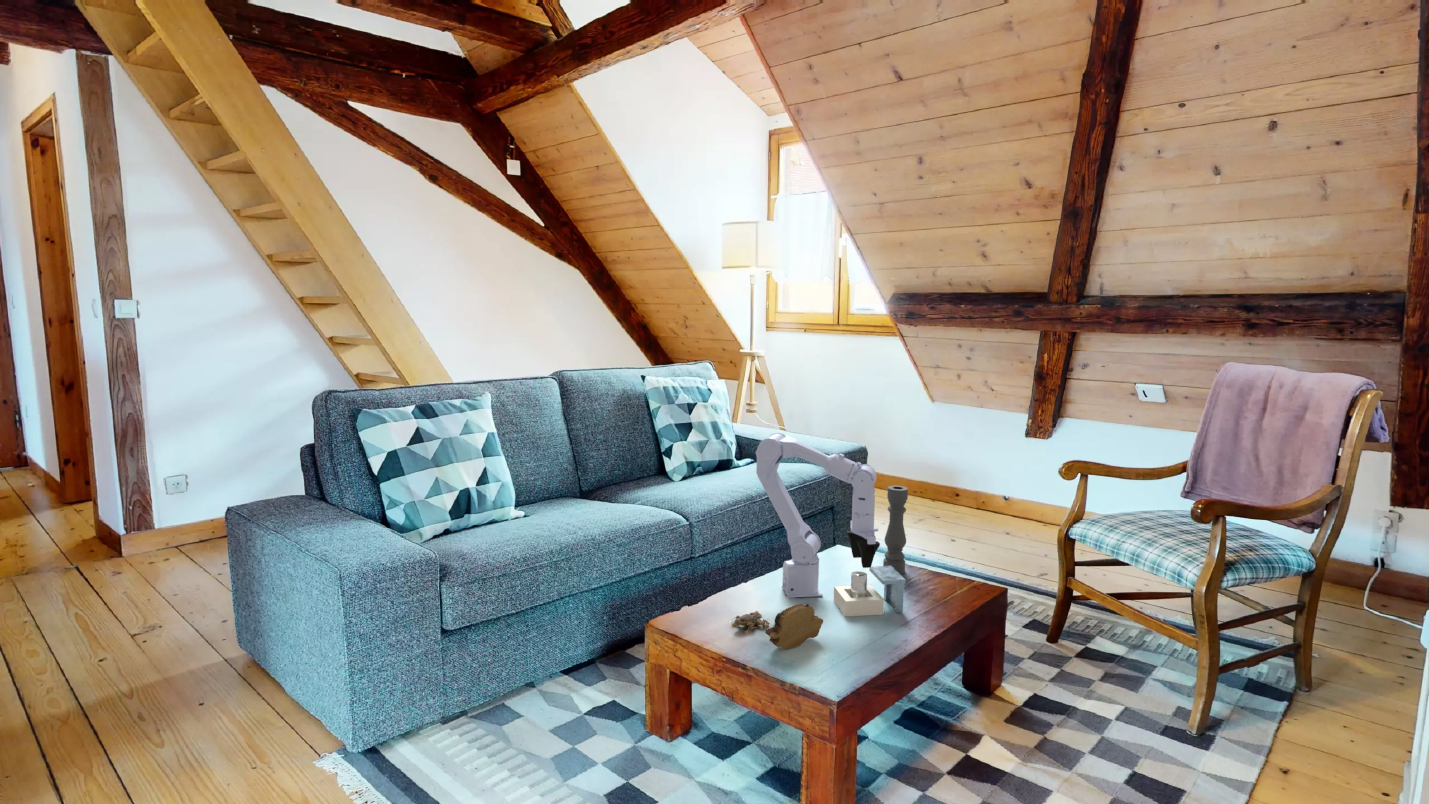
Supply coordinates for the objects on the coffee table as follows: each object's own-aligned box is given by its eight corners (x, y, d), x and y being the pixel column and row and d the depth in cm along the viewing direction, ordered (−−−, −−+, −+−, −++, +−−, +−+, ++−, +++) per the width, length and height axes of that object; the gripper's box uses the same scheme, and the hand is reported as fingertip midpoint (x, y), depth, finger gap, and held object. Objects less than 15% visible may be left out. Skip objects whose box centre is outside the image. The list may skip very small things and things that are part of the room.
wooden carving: (809, 632, 194) (811, 592, 193) (824, 638, 191) (825, 598, 189) (761, 652, 183) (762, 610, 182) (775, 659, 180) (776, 617, 179)
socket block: (845, 616, 203) (845, 601, 203) (833, 600, 213) (834, 586, 213) (883, 614, 205) (883, 599, 204) (869, 599, 215) (870, 584, 214)
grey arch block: (881, 614, 205) (882, 580, 203) (868, 599, 215) (869, 566, 213) (903, 613, 206) (905, 579, 204) (889, 598, 215) (891, 565, 214)
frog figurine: (752, 642, 189) (752, 627, 189) (717, 626, 198) (717, 611, 197) (785, 628, 197) (785, 613, 197) (750, 613, 206) (750, 599, 205)
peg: (868, 606, 207) (869, 576, 206) (853, 607, 207) (854, 577, 205) (863, 600, 211) (864, 571, 210) (848, 601, 210) (849, 571, 209)
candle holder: (905, 576, 232) (909, 491, 228) (883, 574, 233) (886, 490, 229) (904, 568, 238) (908, 486, 234) (883, 566, 239) (886, 484, 235)
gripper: (887, 519, 204) (886, 571, 206) (868, 504, 218) (867, 552, 220) (861, 520, 203) (859, 572, 205) (843, 505, 217) (842, 553, 219)
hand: (861, 562), depth 212 cm, fingers open, 7 cm apart
